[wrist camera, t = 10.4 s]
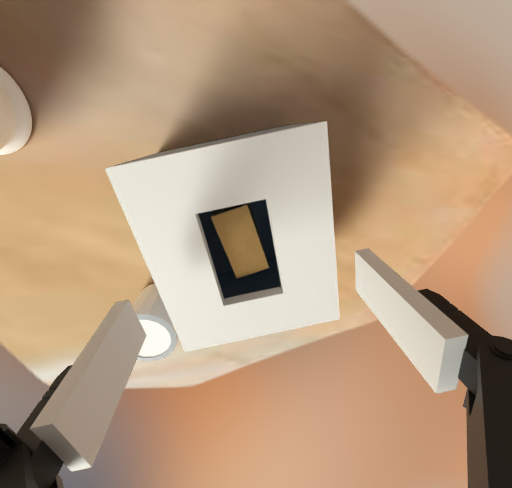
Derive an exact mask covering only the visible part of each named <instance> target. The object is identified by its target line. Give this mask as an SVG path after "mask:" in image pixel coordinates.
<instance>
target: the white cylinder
mask: <svg viewBox="0 0 512 488" xmlns="http://www.w3.org/2000/svg"><path fill="white" fill-rule="evenodd" d="M131 305H132V307H133V309H134V311H135V313H136V315H137V317H138V319H139V321H140V323H141V325H142V327H143V329H144V331H145V333H146V335H147V336H146V338H145V340H144V343H143V345H142V348H141V350H140V352H139V355H138V357H137V360H141V361H155V360H158V359H161V358H164V357H166V356H167V355H169V354H170V353H171V352H172V351H173V350H174V348H175V346H176V344H177V339H178V335H177V333H176V331H175V328H174V326H173V324H172V322H171V319H170V317H169V315H168V312H167V310H166V308H165V305H164V303H163V301H162V299H161V296H160V294H159V292H158V289H157V287H156V285H155V283H154V284H151V285H148V286H146V287H145V288H144V289H143V290H142V291H141V292H140V294H139V295H138V296H137V298H136V299H135V300H134V302H133V303H132V304H131Z"/></svg>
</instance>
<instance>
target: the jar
mask: <svg viewBox="0 0 512 488" xmlns="http://www.w3.org/2000/svg"><path fill="white" fill-rule="evenodd" d="M31 130H32V116H31V111H30V108H29V105H28V102H27V100H26V98H25V96H24V94H23V92H22V90H21V89H20V87H19V86H18V85H17V83H16V82H15V81H14V80H13V78H12V77H11V76H10V75H9V74H8V73H7V72H6V71H5V70H4V69H2V68H1V67H0V155H5V154H10V153H13V152H16V151H17V150H19V149H21V148H22V147H23V146H24V145H25V144H26V142H27V141H28V139H29V137H30V134H31Z"/></svg>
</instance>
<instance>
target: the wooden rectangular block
mask: <svg viewBox="0 0 512 488" xmlns="http://www.w3.org/2000/svg"><path fill="white" fill-rule="evenodd" d="M211 219H212V221H213V223H214V226H215V228H216V231H217V233H218V235H219V238H220V240H221V242H222V245H223V247H224V250H225V252H226V254H227V257H228V259H229V261H230V264H231V266H232V268H233V271H234V273H235V276H236V278H240V277H243V276H246V275H249V274H252V273H255V272H258V271H261V270H264V269H267V268H269V266H268V262H267V258H266V255H265V251H264V247H263V244H262V240H261V236H260V233H259V229H258V226H257V223H256V221H255V218H254V215H253V212H252V209H251V206H250V203H245V204H240V205H236V206H231V207H226V208H222V209H217V210H212V214H211Z"/></svg>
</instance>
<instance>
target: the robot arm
mask: <svg viewBox="0 0 512 488" xmlns="http://www.w3.org/2000/svg"><path fill="white" fill-rule="evenodd" d="M355 272H356V291H357V293H358V294H359V295H360V296H361V298H362V299H363V300H364V302H365V303H366V304H367V305H368V307H369V308H370V309H371V311H372V312H373V313H374V314H375V316H376V317H377V318H378V319H379V321H380V322H381V323H382V325H383V326H384V327H385V328H386V330H387V331H388V332H389V334H390V335H391V336H392V337H393V339H394V340H395V341H396V343H397V344H398V345H399V346H400V348H401V349H402V350H403V352H404V353H405V354H406V355H407V357H408V358H409V359H410V361H411V362H412V363H413V364H414V366H415V367H416V368H417V370H418V371H419V372H420V373H421V375H422V376H423V377H424V378H425V380H426V381H427V382H428V384H429V385H430V386H431V388H432V389H433V390H434V391H435V393H441V392H446V391H450V390H455V389H456V388H457V383H458V379H460V380H461V381H462V382H463V383H464V385H465V386H466V387H467V388H468V389H467V392H466V397H465V400H464V404H463V407H465V408H466V409H467V463H468V488H512V340H510V339H507V338H504V337H499V336H492V335H490V334H489V333H488V332H486V331H485V330H484V329H483V328H481V327H480V326H479V325H478V324H477V323H475V322H474V321H473V320H471V319H470V318H469V317H468V316H466V315H465V314H464V313H462V312H461V311H459V310H458V309H457V308H456V307H455V306H453V305H452V304H450V302H449V301H447V300H446V299H445V298H444V297H442V296H441V295H440V294H437V293H435V292H433V291H431V290H428V289H424V290H419V291H417V290H416V289H415V288H414V287H412V286H411V285H410V284H409V283H408V282H407V281H405V280H404V279H403V278H402V277H401V276H400V275H398V274H397V273H396V272H395V271H394V270H393V269H391V268H390V267H389V266H388V265H387V264H386V263H385V262H383V261H382V260H381V259H380V258H379V257H378V256H376V255H375V254H374V253H373V252H372V251H371V250H369V249H363V250H358V251H355ZM146 336H147V335H146V333H145V331H144V329H143V327H142V325H141V323H140V321H139V319H138V317H137V315H136V313H135V311H134V309H133V307H132V305H131V303H130V301H129V300H124V301H119V302H115V304H114V305H113V306H112V308H111V309H110V311H109V312H108V314H107V315H106V317H105V318H104V320H103V321H102V323H101V324H100V326H99V327H98V329H97V330H96V332H95V333H94V334H93V336H92V337H91V339H90V340H89V342H88V343H87V345H86V346H85V348H84V349H83V351H82V352H81V354H80V355H79V357H78V358H77V359H76V361H75V362H74V364H73V365H71V366H68V367H67V368H66V369H65V370H64V371H63V372H62V373H61V374H60V375H59V376H58V377H57V378H56V379H55V381H54V382H53V383H52V385H51V386H50V388H49V391H47V392H46V393H45V395H44V396H43V398H42V400H41V401H40V402H39V403H38V404H37V406H36V407H35V409H34V410H33V412H32V413H31V414H30V416H29V417H28V419H27V420H26V422H25V423H24V424H23V426H22V427H21V428H20V430H19V432H18V433H17V434H16V433H15V432H14V431H13V430H11V429H10V428H9V427H8V426H7V425H6V424H0V488H63V482H62V479H61V477H60V476H59V475H58V473H59V471H60V469H61V467H62V465H63V463H64V464H65V465H66V466H67V467H68V468H69V469H70V470H71V471H76V470H81V469H85V468H90V467H92V465H93V463H94V460H95V458H96V456H97V453H98V451H99V448H100V446H101V443H102V441H103V439H104V436H105V434H106V432H107V429H108V427H109V424H110V422H111V419H112V417H113V415H114V412H115V410H116V407H117V405H118V403H119V400H120V398H121V396H122V393H123V391H124V388H125V386H126V384H127V381H128V379H129V376H130V374H131V372H132V369H133V367H134V364H135V362H136V360H137V357H138V355H139V352H140V350H141V348H142V345H143V343H144V340H145V338H146Z"/></svg>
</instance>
